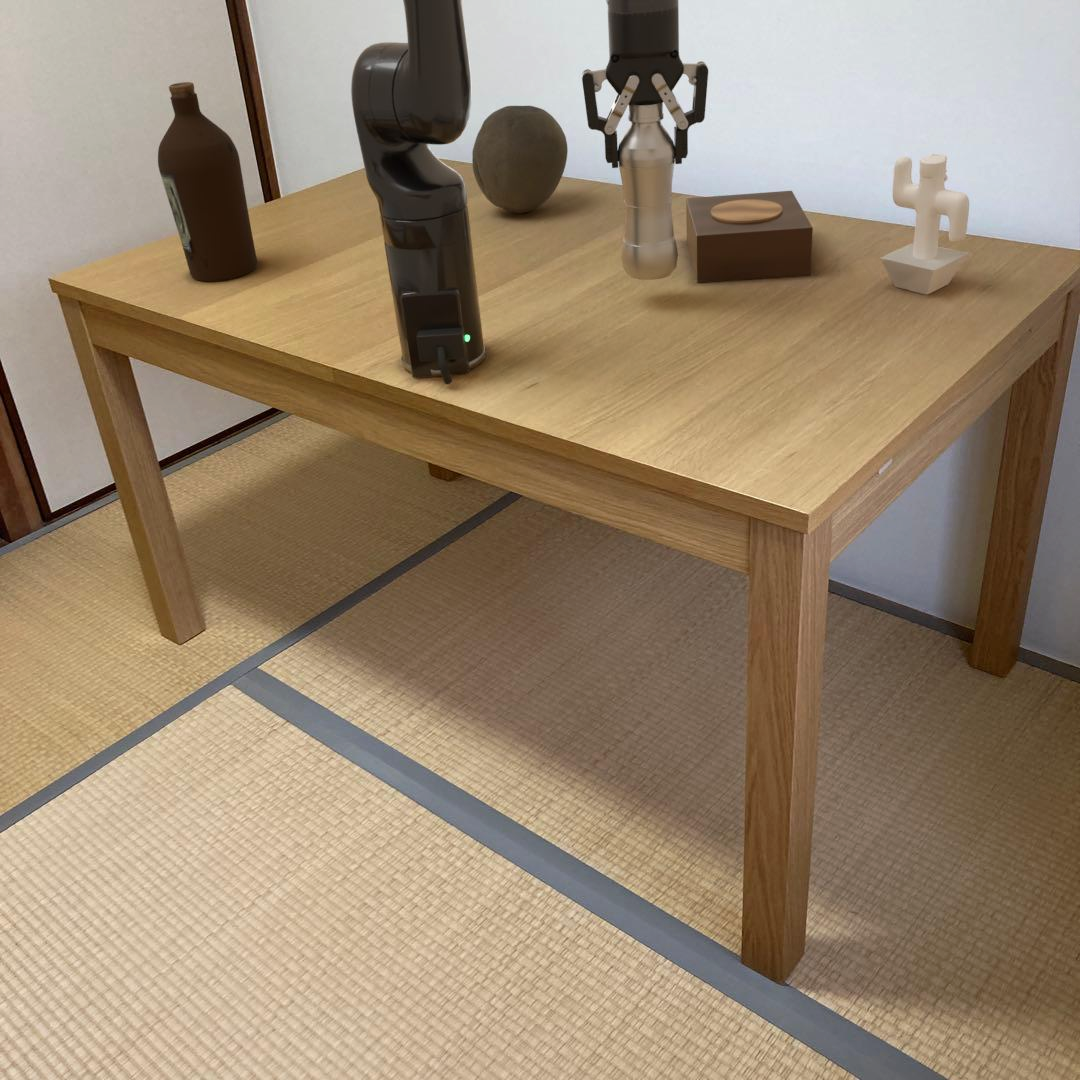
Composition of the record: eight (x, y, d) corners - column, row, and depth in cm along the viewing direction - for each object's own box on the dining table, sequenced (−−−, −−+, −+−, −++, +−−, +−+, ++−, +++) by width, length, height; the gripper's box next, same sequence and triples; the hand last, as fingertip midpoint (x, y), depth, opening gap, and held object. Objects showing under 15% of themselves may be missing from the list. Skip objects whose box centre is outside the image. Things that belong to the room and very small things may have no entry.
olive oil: (257, 253, 169) (217, 72, 156) (267, 274, 160) (226, 85, 147) (183, 266, 166) (136, 84, 153) (189, 289, 158) (141, 97, 145)
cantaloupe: (556, 223, 169) (548, 117, 161) (465, 223, 173) (453, 119, 165) (580, 195, 181) (574, 95, 173) (495, 195, 184) (485, 97, 176)
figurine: (938, 303, 132) (953, 170, 124) (869, 285, 139) (879, 158, 131) (974, 285, 136) (990, 155, 128) (905, 268, 142) (916, 144, 134)
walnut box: (810, 275, 143) (813, 225, 140) (697, 283, 144) (696, 233, 141) (790, 234, 157) (792, 188, 153) (686, 242, 158) (686, 195, 154)
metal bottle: (675, 286, 135) (673, 107, 124) (617, 286, 136) (611, 109, 126) (680, 268, 140) (679, 95, 130) (625, 268, 142) (620, 96, 131)
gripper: (574, 14, 120) (583, 177, 129) (714, 4, 119) (713, 168, 128) (575, 5, 126) (583, 160, 135) (707, -5, 125) (707, 152, 134)
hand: (646, 164), depth 131 cm, fingers closed on metal bottle, 6 cm apart
